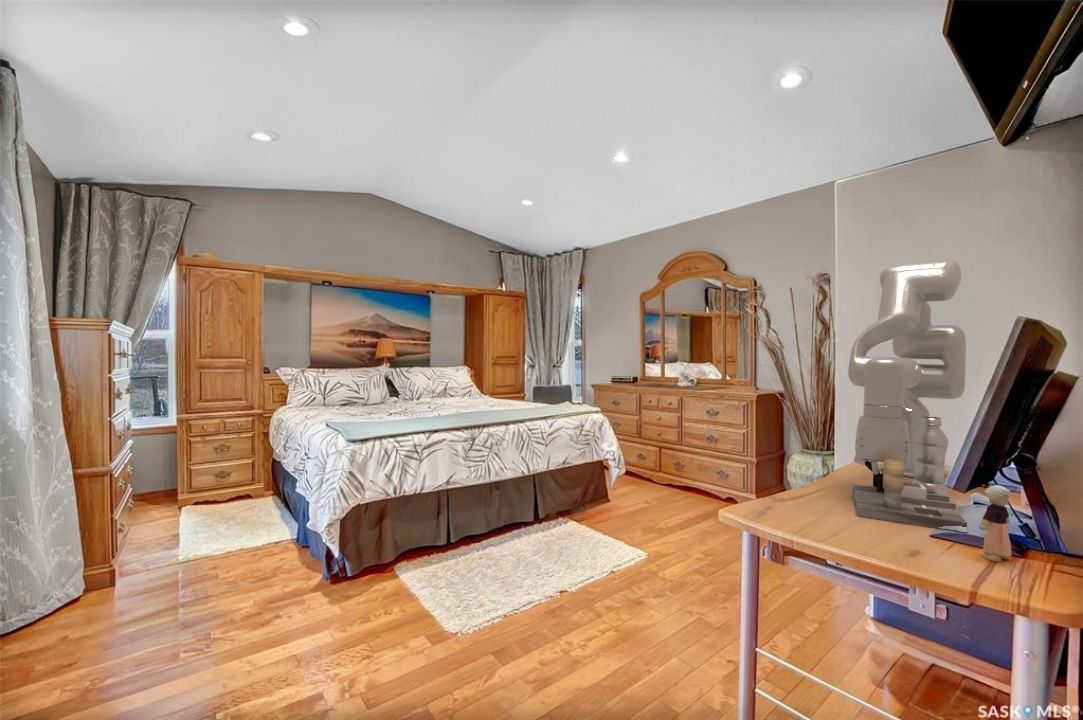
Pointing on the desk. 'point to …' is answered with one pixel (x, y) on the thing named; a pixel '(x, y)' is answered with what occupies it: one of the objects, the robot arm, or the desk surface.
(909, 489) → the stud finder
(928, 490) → the plastic bottle
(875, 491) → the grey ridged panel
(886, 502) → the tan cylinder
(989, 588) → the desk surface
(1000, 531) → the grandmother figurine
